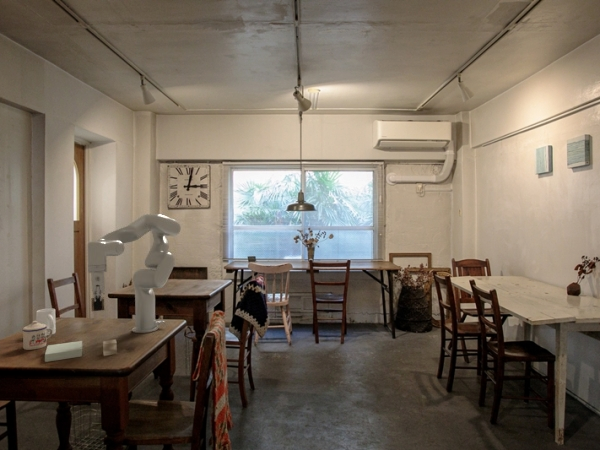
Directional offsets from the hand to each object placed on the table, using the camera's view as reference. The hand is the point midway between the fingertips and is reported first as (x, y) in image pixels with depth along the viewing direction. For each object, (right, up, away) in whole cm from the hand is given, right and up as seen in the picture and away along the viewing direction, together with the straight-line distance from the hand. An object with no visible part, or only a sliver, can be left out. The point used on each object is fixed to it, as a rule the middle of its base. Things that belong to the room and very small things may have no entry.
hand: (97, 308), depth 174 cm
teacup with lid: (-28, -18, +2) cm, 33 cm away
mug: (-35, -18, +19) cm, 44 cm away
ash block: (+9, -18, -8) cm, 22 cm away
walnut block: (0, -1, 0) cm, 1 cm away
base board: (-9, -18, -9) cm, 22 cm away
